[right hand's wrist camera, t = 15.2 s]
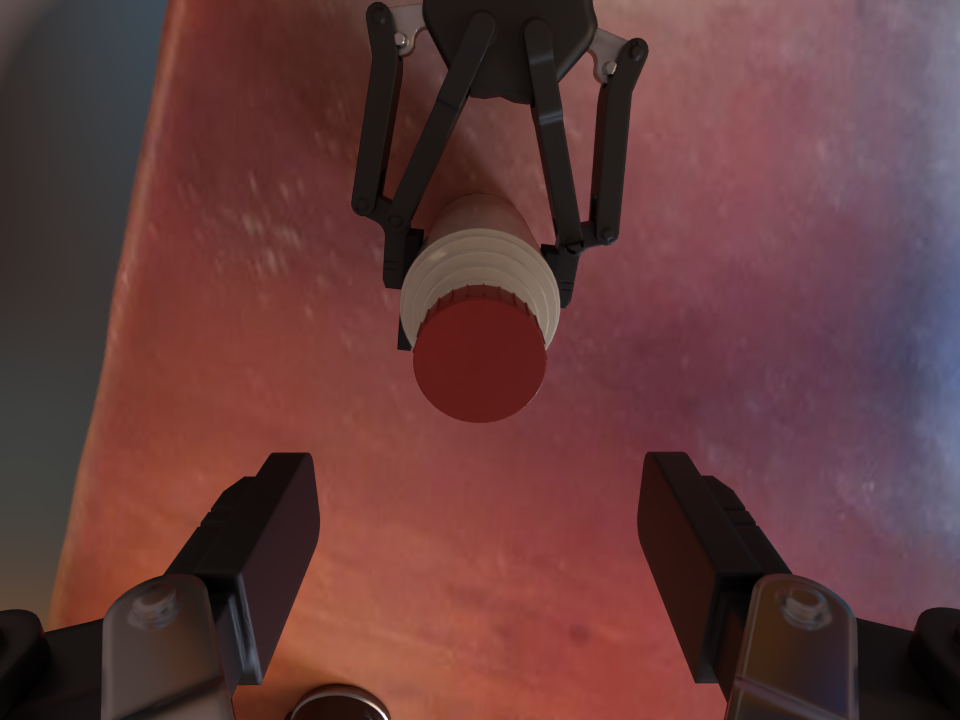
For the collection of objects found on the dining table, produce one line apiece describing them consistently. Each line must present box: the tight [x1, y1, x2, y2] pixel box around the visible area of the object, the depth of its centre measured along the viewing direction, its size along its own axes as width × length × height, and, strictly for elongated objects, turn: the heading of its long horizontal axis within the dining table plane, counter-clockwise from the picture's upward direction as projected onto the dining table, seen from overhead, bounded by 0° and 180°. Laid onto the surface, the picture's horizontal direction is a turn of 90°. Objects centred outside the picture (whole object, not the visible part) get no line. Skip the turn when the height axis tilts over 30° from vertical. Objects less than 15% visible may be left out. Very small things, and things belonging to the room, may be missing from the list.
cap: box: [413, 283, 547, 423], centre depth 19 cm, size 4×4×2 cm
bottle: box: [400, 194, 560, 349], centre depth 29 cm, size 7×7×21 cm
